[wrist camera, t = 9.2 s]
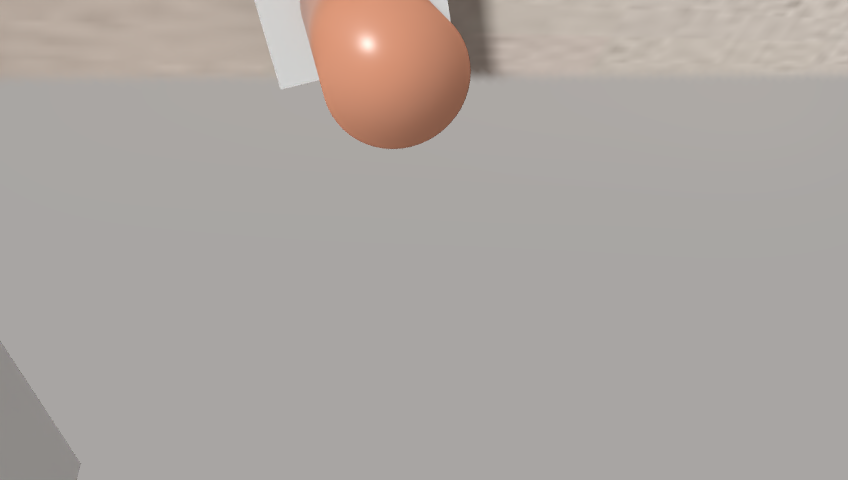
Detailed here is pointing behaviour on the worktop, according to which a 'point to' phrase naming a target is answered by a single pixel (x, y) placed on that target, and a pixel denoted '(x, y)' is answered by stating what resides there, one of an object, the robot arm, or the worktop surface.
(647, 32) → the worktop surface
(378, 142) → the white plank with peg
